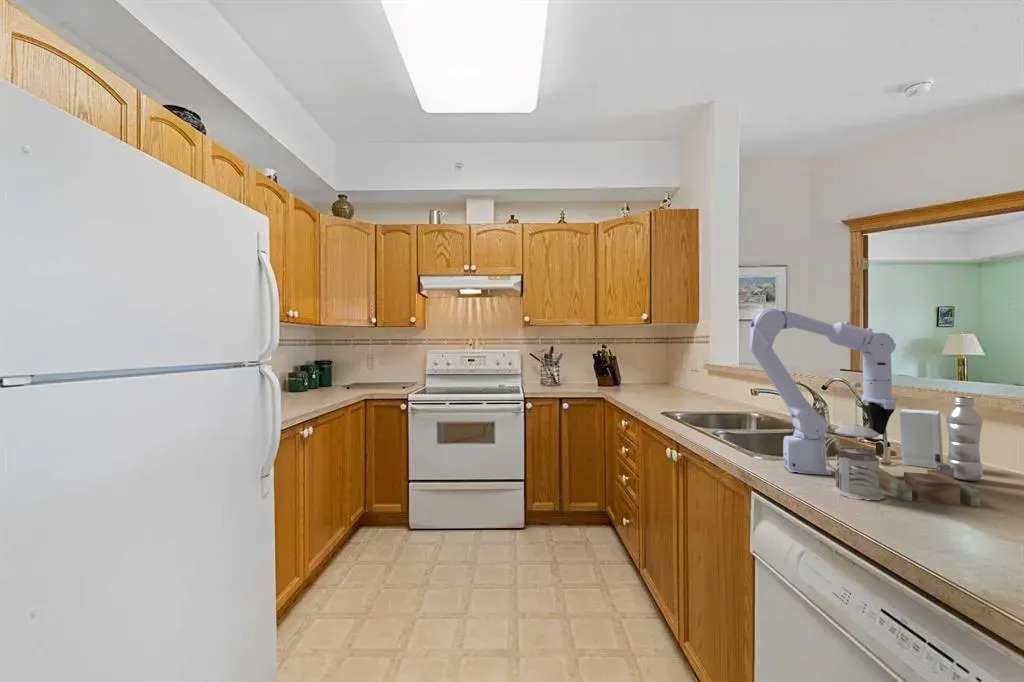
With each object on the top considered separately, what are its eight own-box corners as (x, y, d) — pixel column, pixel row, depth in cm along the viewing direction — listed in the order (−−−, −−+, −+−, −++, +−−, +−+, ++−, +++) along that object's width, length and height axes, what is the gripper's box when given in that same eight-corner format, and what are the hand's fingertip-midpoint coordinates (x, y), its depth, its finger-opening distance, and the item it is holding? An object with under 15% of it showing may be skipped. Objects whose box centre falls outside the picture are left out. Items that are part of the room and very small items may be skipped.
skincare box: (943, 465, 127) (942, 410, 127) (941, 470, 122) (940, 413, 122) (903, 460, 133) (902, 407, 133) (899, 464, 129) (899, 410, 129)
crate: (917, 501, 100) (917, 480, 100) (903, 491, 107) (903, 471, 107) (961, 505, 97) (960, 484, 97) (943, 495, 104) (943, 474, 104)
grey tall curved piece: (895, 502, 99) (894, 383, 99) (834, 499, 102) (832, 383, 102) (870, 487, 109) (868, 380, 109) (814, 485, 111) (813, 379, 111)
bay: (903, 500, 100) (903, 486, 100) (868, 476, 118) (868, 464, 118) (980, 506, 96) (980, 491, 96) (932, 480, 114) (932, 468, 114)
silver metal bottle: (966, 475, 117) (965, 395, 117) (991, 484, 111) (990, 399, 111) (938, 475, 118) (937, 395, 118) (961, 483, 111) (960, 399, 111)
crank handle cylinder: (941, 484, 110) (940, 458, 110) (929, 478, 115) (929, 453, 115) (956, 486, 110) (956, 459, 110) (944, 479, 114) (944, 454, 114)
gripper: (910, 382, 111) (911, 440, 111) (883, 377, 125) (884, 429, 125) (874, 382, 113) (876, 439, 113) (852, 377, 127) (853, 428, 127)
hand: (878, 433), depth 119 cm, fingers closed
